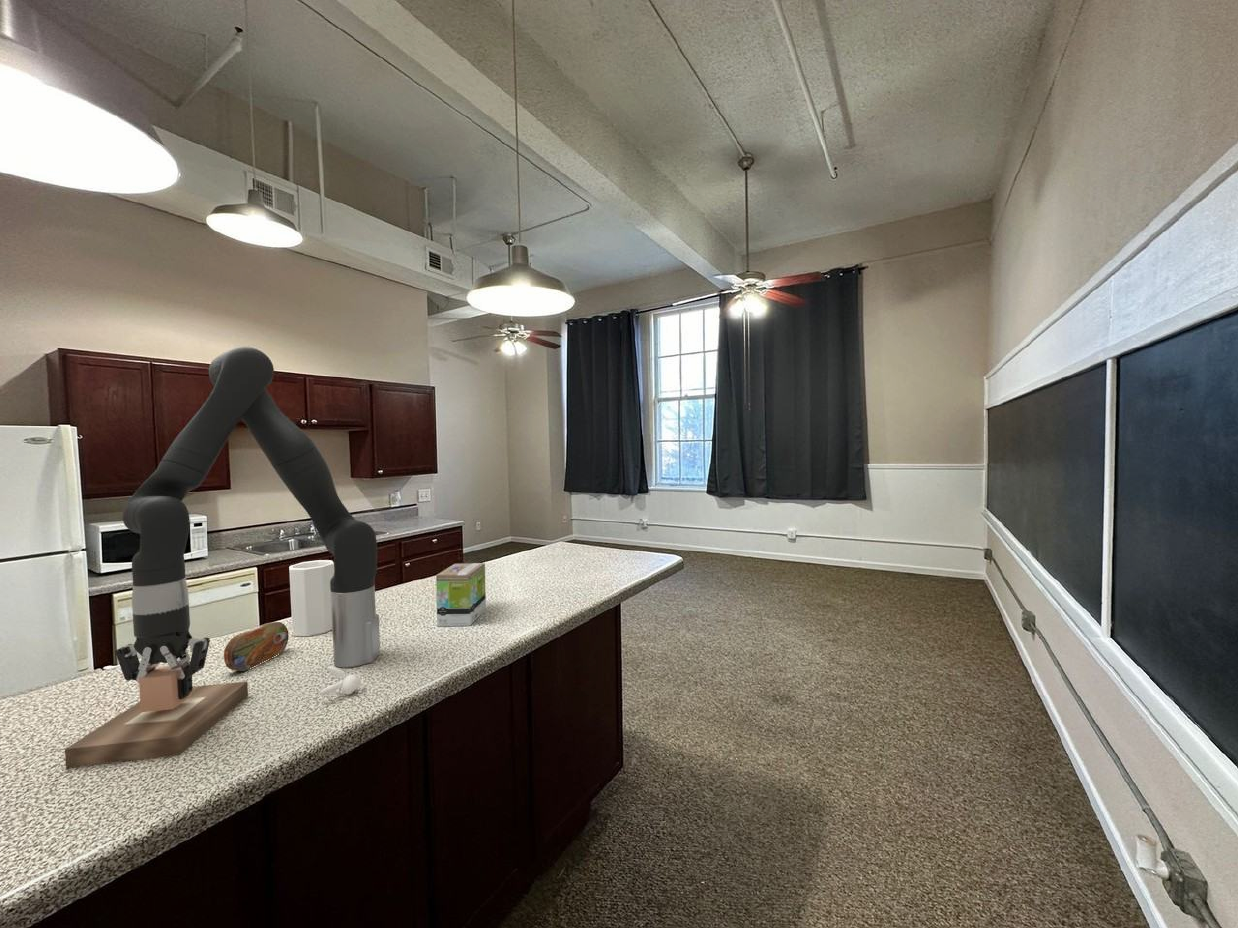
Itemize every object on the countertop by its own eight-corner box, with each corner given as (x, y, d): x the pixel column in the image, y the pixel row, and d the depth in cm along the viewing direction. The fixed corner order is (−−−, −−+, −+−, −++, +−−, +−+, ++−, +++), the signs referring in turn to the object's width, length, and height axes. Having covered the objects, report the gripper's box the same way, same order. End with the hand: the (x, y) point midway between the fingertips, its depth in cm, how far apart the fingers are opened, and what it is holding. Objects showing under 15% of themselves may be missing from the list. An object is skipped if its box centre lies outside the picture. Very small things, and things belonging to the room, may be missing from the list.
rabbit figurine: (362, 697, 100) (320, 688, 96) (355, 708, 101) (313, 699, 98) (370, 671, 105) (330, 661, 101) (362, 681, 106) (323, 672, 103)
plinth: (248, 695, 102) (247, 680, 102) (179, 754, 82) (178, 735, 82) (158, 704, 99) (158, 688, 99) (65, 767, 80) (64, 747, 79)
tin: (233, 677, 111) (231, 640, 111) (221, 676, 111) (219, 639, 111) (290, 650, 126) (289, 617, 125) (280, 649, 126) (278, 616, 126)
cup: (345, 626, 142) (342, 561, 141) (303, 640, 132) (300, 570, 132) (324, 620, 148) (322, 558, 147) (283, 632, 138) (280, 566, 138)
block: (192, 695, 94) (190, 663, 93) (173, 708, 89) (171, 675, 88) (161, 698, 93) (159, 666, 92) (140, 712, 88) (138, 678, 88)
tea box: (472, 626, 139) (470, 573, 138) (436, 627, 139) (434, 574, 139) (487, 609, 154) (485, 561, 154) (454, 609, 154) (452, 562, 154)
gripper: (218, 596, 95) (223, 684, 96) (132, 602, 93) (137, 693, 93) (192, 609, 88) (197, 704, 88) (97, 616, 85) (103, 714, 86)
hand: (166, 698), depth 91 cm, fingers closed on block, 5 cm apart
